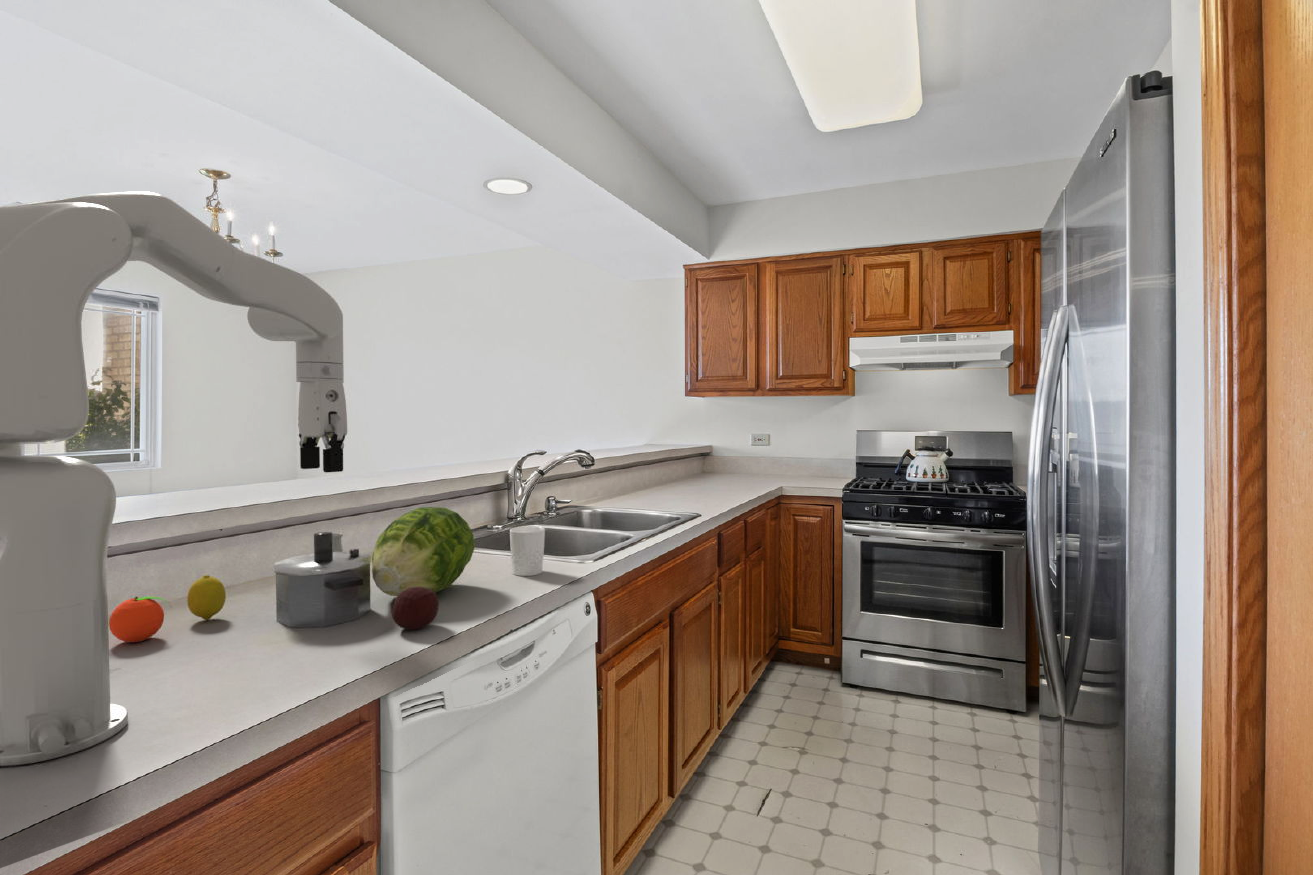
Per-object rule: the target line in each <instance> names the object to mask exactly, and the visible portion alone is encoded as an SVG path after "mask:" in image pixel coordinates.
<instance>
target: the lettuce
mask: <svg viewBox="0 0 1313 875" xmlns="http://www.w3.org/2000/svg"><path fill="white" fill-rule="evenodd" d="M474 539H475V538H474V534H473V532H472V529H471V527H470V526H469V523H468V522H467V521H466V520H465V519H464V518H463V517H462V516H461V515H460V514H459V513H458V512H456V511H453V510H452V509H449V508H447V507H437V506H436V507H434V506H422V507H418V508H416V509H414V510H410V511H409V512H407V513H406V512H405V513H403V515H401V516H400V517H398V518H397V519H395V520H394V521H392V522H391V523H390V524H389V525H388V526H387V527H386V528H385V529H384V530H383V532H381V534H380V535H378V538H377V540H376V541H375V544H374V549H373V551H372V556H371V566H372V567H371V574H372V580H373V581H374V583H375V586H376V587H377V588H378V589H379V590H380V591H381V592H382V593H384V594H386V595H388V596H390V597H397V596H398V595H399V594H400V593H401V592H403V591H404V590H406V589H408V588H412V587H424V588H428V589H431V590H432V591H434V593H435V594H436V593H438V592H440V591H442V590H444V589H446V588H450V587H451V586H452V585H453V584H454V582H455V581H457V579H458V578H459V577H460V576H461V575H462V573H463V572H464V570H465V568H466V566H467V565H468V564H469V563H470V561H471V560H472V557H473V554H474V552H475V551H474V550H475V540H474Z"/></svg>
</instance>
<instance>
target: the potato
mask: <svg viewBox="0 0 1313 875" xmlns="http://www.w3.org/2000/svg"><path fill="white" fill-rule="evenodd" d="M439 605H440V602H439V598H438V595H437V594H436V593H434V591H432V590H431V589H428V588H424V587H412V588H408V589H406V590H404V591H403V592H401V593H400V594H399V595H398V596H395V598H394V603H393V604H392V608H391V609H392V610H391V615H392V620H393V621H394V623H395V624H396V625H397V626H398V627H400V628H401V629H404V630H411V631H415V630H418V629H421V628H424V627H426V626H428V625H429V624H431V623H432V622H434V620H435V618H436V617H437V614H438V611H439Z"/></svg>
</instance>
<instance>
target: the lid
mask: <svg viewBox="0 0 1313 875" xmlns="http://www.w3.org/2000/svg"><path fill="white" fill-rule="evenodd" d="M369 564H370V565H371V564H372V556H371V555H369V554H367V553H364V552H360V549H359V548H351V549H349V550H348V551H343V552H333V531H320V532H316V533H314V534H313V553H309V554H303V555H297V556H296V555H295V556H291V557H288V558H285V559H281V560H279V561H277V562H275V563H274V564H273V572H274V573H275V574H276V573H277V574H280V575H286V576H319V575H330V574H337V573H343V572H348V571H353V570H357V569H360V568H363V567H365V566H367V565H369Z"/></svg>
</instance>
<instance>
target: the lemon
mask: <svg viewBox="0 0 1313 875" xmlns="http://www.w3.org/2000/svg"><path fill="white" fill-rule="evenodd" d="M226 595H227V594H226V590H225V586H224V584H223V583H222V581H221V580H219V579H218V578H216V577H214V576H210V575H209V574H204V575H202V577H201V578H199V579H197V580H195V581H194V582H193V583H192V584H191V585H190V587H189V589H188V593H187V607H188V609H189V611H190V612H191V613H192V615H194V616H196V617H199V618H201V619H203V620H204V621H210V620H211V618H212V617H213V616H215V615H216V614H219V613H220V612H221V610H223V608H224V605H225V602H226V597H227V596H226Z"/></svg>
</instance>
